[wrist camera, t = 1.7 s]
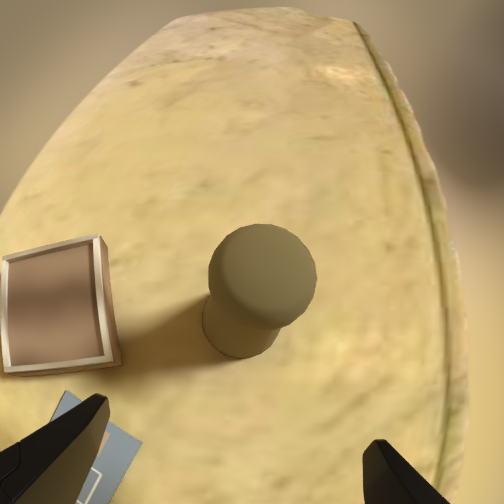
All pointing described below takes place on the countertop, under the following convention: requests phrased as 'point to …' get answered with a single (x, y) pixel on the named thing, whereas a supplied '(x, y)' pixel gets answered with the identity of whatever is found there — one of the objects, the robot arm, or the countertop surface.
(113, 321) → the brown square tray
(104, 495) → the blueprint card
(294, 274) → the olive pawn figure
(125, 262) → the countertop surface
